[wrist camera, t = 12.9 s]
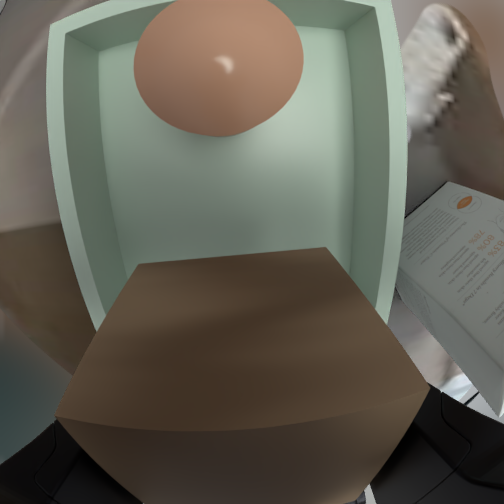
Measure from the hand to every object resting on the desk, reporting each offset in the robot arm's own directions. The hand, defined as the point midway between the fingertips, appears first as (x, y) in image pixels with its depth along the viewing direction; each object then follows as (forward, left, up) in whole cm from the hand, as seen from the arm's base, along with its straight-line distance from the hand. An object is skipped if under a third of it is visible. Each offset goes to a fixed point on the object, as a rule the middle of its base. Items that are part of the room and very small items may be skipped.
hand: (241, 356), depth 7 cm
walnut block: (0, 0, -1) cm, 1 cm away
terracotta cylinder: (+8, 0, -10) cm, 13 cm away
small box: (-2, -14, -11) cm, 18 cm away
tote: (+4, 0, -11) cm, 11 cm away
